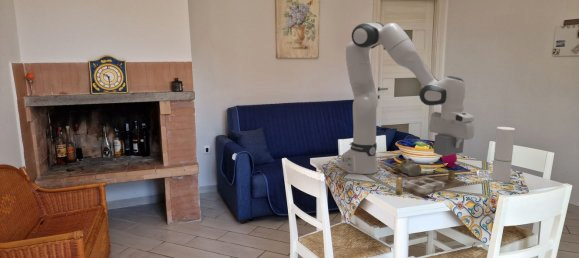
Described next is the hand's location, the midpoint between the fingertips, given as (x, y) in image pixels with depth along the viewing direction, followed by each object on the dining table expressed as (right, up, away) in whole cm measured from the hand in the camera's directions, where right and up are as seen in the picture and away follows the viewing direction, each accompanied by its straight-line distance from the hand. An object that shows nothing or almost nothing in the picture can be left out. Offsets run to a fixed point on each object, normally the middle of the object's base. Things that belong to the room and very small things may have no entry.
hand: (448, 145), depth 178 cm
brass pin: (-24, -20, -7) cm, 32 cm away
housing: (0, -3, +1) cm, 3 cm away
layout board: (-6, -19, -1) cm, 19 cm away
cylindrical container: (+26, -17, +7) cm, 32 cm away
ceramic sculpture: (-12, -15, +18) cm, 27 cm away
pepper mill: (+12, -12, +30) cm, 35 cm away
